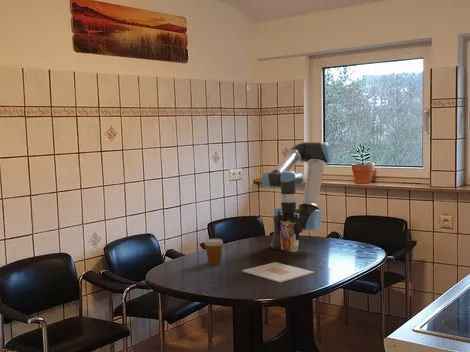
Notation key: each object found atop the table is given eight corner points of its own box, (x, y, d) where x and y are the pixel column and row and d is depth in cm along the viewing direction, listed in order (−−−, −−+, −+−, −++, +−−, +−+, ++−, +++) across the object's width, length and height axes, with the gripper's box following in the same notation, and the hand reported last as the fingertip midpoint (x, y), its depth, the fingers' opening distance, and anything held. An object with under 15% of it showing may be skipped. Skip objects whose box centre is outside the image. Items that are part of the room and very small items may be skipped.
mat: (242, 271, 264) (242, 270, 264) (275, 263, 278) (275, 261, 278) (280, 282, 244) (280, 280, 244) (313, 273, 258) (313, 271, 258)
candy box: (298, 250, 283) (298, 221, 282) (293, 252, 281) (292, 222, 279) (286, 248, 290) (285, 219, 289) (280, 249, 288) (280, 220, 286)
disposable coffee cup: (209, 260, 287) (208, 238, 286) (226, 261, 284) (225, 238, 282) (202, 265, 278) (201, 241, 277) (219, 266, 275) (219, 242, 274)
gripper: (268, 200, 289) (270, 242, 291) (298, 204, 272) (299, 249, 274) (279, 198, 293) (280, 240, 296) (309, 202, 277) (310, 246, 279)
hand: (289, 244), depth 285 cm, fingers closed on candy box, 9 cm apart
